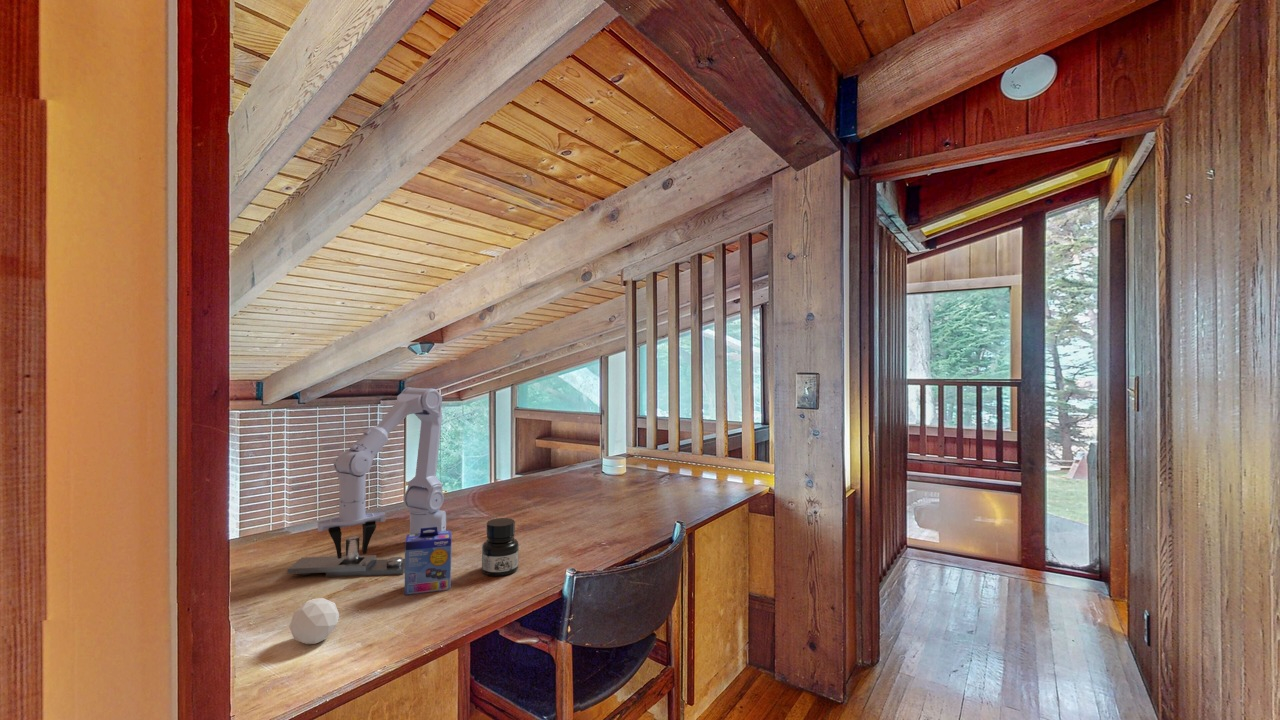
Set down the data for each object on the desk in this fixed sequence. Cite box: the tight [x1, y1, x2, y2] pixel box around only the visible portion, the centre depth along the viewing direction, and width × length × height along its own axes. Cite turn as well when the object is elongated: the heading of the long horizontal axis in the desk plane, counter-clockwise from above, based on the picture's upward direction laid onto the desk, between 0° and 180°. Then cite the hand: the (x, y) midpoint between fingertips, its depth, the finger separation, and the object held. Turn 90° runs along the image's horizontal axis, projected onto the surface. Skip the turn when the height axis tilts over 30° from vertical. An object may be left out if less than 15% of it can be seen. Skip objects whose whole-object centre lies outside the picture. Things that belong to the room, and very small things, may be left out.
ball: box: [288, 597, 340, 645], centre depth 99 cm, size 8×8×8 cm
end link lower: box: [325, 556, 405, 578], centre depth 132 cm, size 18×7×2 cm, turn 98°
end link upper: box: [287, 554, 377, 576], centre depth 130 cm, size 18×7×2 cm, turn 98°
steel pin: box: [344, 535, 360, 565], centre depth 131 cm, size 3×3×8 cm
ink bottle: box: [481, 517, 520, 577], centre depth 133 cm, size 10×9×12 cm
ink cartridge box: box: [404, 527, 452, 596], centre depth 122 cm, size 10×6×14 cm, turn 111°
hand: (351, 554), depth 131 cm, fingers open, 5 cm apart
